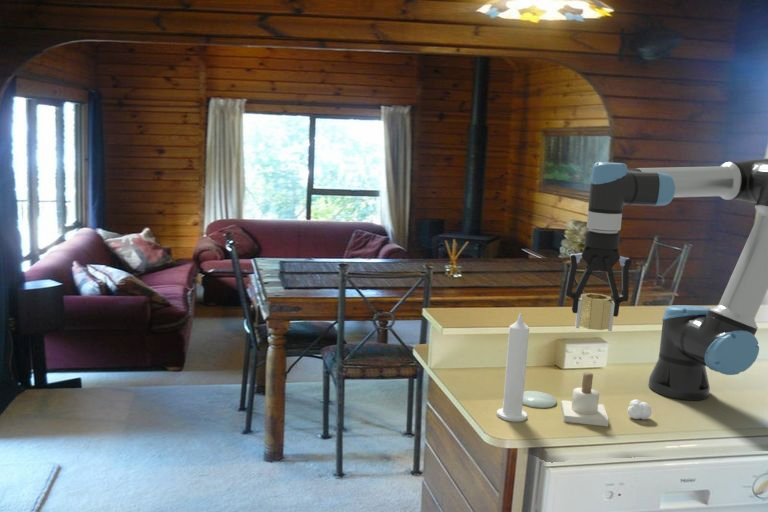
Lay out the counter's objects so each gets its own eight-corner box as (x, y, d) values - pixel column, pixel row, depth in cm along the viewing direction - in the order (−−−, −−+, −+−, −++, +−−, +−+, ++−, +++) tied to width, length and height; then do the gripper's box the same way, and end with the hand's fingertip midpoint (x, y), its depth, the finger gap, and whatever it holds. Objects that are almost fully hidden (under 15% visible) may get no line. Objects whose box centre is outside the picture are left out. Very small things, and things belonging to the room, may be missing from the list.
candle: (520, 424, 170) (529, 318, 166) (491, 416, 174) (500, 313, 169) (531, 415, 176) (540, 312, 171) (503, 407, 180) (512, 307, 175)
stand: (602, 410, 181) (607, 369, 179) (608, 426, 171) (612, 383, 170) (561, 405, 183) (565, 365, 181) (563, 421, 173) (568, 378, 171)
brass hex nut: (606, 323, 176) (609, 294, 175) (609, 330, 169) (613, 301, 168) (577, 321, 177) (580, 292, 176) (580, 328, 170) (583, 298, 169)
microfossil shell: (631, 401, 175) (654, 406, 174) (627, 394, 180) (650, 398, 179) (627, 419, 176) (651, 424, 175) (624, 412, 181) (647, 416, 180)
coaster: (555, 395, 190) (555, 393, 190) (557, 410, 180) (557, 407, 180) (515, 391, 191) (515, 389, 191) (515, 405, 181) (516, 403, 181)
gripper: (644, 231, 171) (634, 327, 175) (558, 225, 174) (549, 320, 178) (650, 235, 164) (639, 336, 168) (560, 229, 167) (551, 328, 171)
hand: (593, 327), depth 173 cm, fingers closed on brass hex nut, 7 cm apart
